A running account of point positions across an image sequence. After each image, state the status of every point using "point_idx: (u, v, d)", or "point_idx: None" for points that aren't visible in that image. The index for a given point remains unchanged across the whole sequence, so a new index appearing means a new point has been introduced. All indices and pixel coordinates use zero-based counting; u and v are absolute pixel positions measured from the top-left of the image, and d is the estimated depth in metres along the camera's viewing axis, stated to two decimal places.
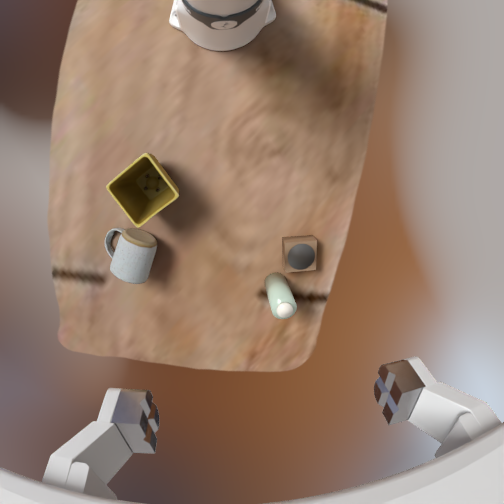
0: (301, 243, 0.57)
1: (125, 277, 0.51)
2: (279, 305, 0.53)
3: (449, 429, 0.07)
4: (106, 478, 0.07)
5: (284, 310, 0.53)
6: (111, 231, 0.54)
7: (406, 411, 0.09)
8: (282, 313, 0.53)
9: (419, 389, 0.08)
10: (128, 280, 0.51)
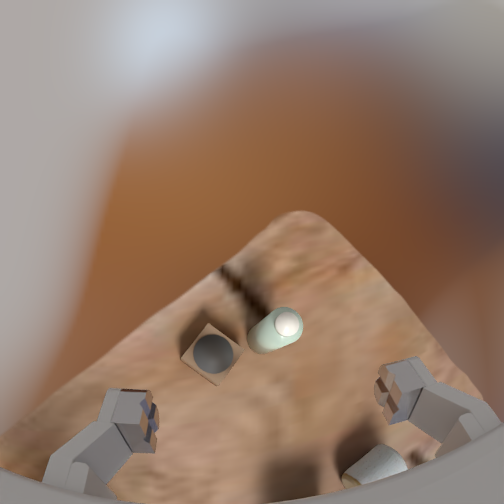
0: (201, 369, 0.37)
1: (401, 466, 0.32)
2: (288, 336, 0.34)
3: (449, 429, 0.07)
4: (106, 478, 0.07)
5: (288, 325, 0.34)
6: None
7: (406, 411, 0.09)
8: (293, 322, 0.35)
9: (419, 389, 0.08)
10: (402, 461, 0.32)
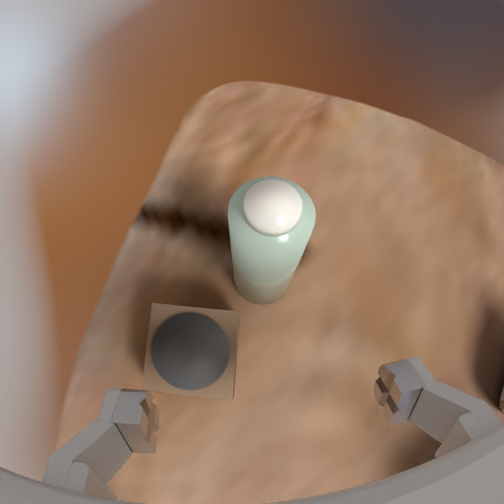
0: (185, 389, 0.18)
1: None
2: (291, 226, 0.15)
3: (449, 429, 0.07)
4: (106, 478, 0.07)
5: (275, 205, 0.15)
6: None
7: (406, 411, 0.09)
8: (283, 195, 0.15)
9: (419, 389, 0.08)
10: None
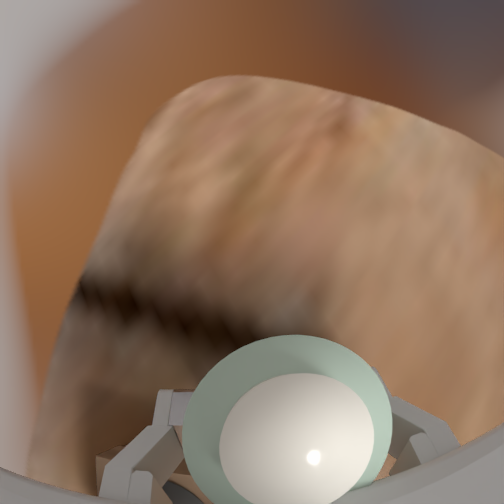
0: None
1: None
2: None
3: (404, 447, 0.07)
4: None
5: (306, 454, 0.04)
6: None
7: None
8: (327, 423, 0.05)
9: None
10: None
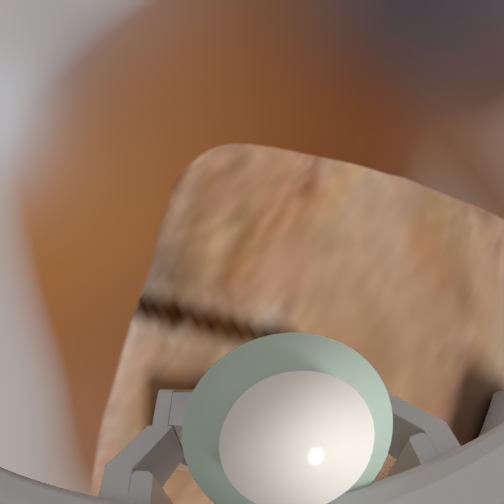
0: None
1: None
2: None
3: (404, 447, 0.07)
4: (158, 484, 0.07)
5: (306, 452, 0.04)
6: None
7: None
8: (328, 421, 0.05)
9: None
10: None
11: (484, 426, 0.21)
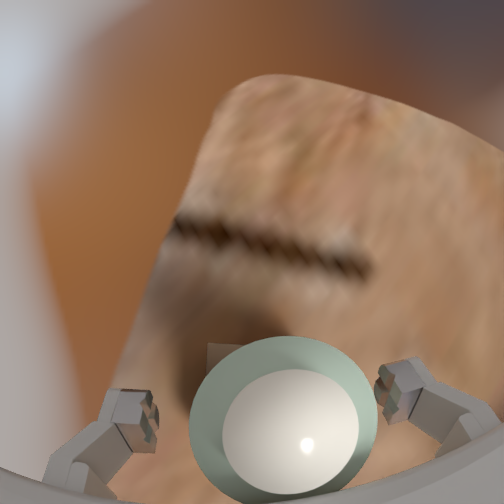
0: None
1: None
2: None
3: (449, 429, 0.07)
4: (106, 478, 0.07)
5: (298, 441, 0.05)
6: None
7: (406, 411, 0.09)
8: (317, 414, 0.06)
9: (419, 389, 0.08)
10: None
11: None
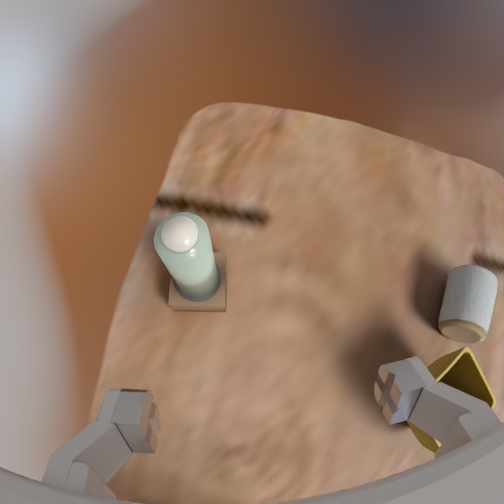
0: (195, 301, 0.32)
1: (488, 276, 0.29)
2: (190, 247, 0.23)
3: (449, 429, 0.07)
4: (106, 478, 0.07)
5: (180, 234, 0.23)
6: (483, 336, 0.32)
7: (406, 411, 0.09)
8: (185, 227, 0.23)
9: (419, 389, 0.08)
10: (485, 271, 0.29)
11: (443, 300, 0.34)
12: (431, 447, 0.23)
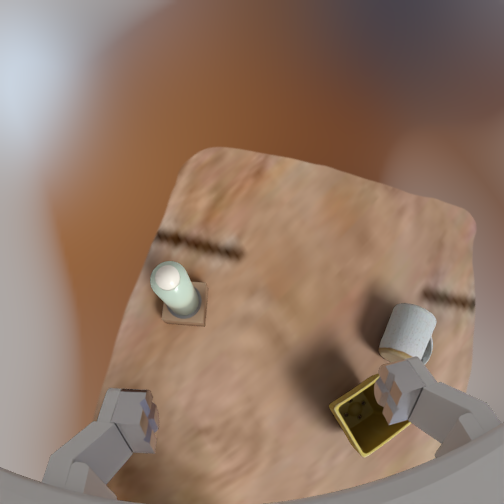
0: (181, 318, 0.43)
1: (424, 314, 0.39)
2: (174, 287, 0.34)
3: (449, 429, 0.07)
4: (106, 478, 0.07)
5: (167, 278, 0.34)
6: (423, 362, 0.42)
7: (406, 411, 0.09)
8: (171, 273, 0.34)
9: (419, 389, 0.08)
10: (422, 310, 0.39)
11: None
12: (354, 446, 0.33)
